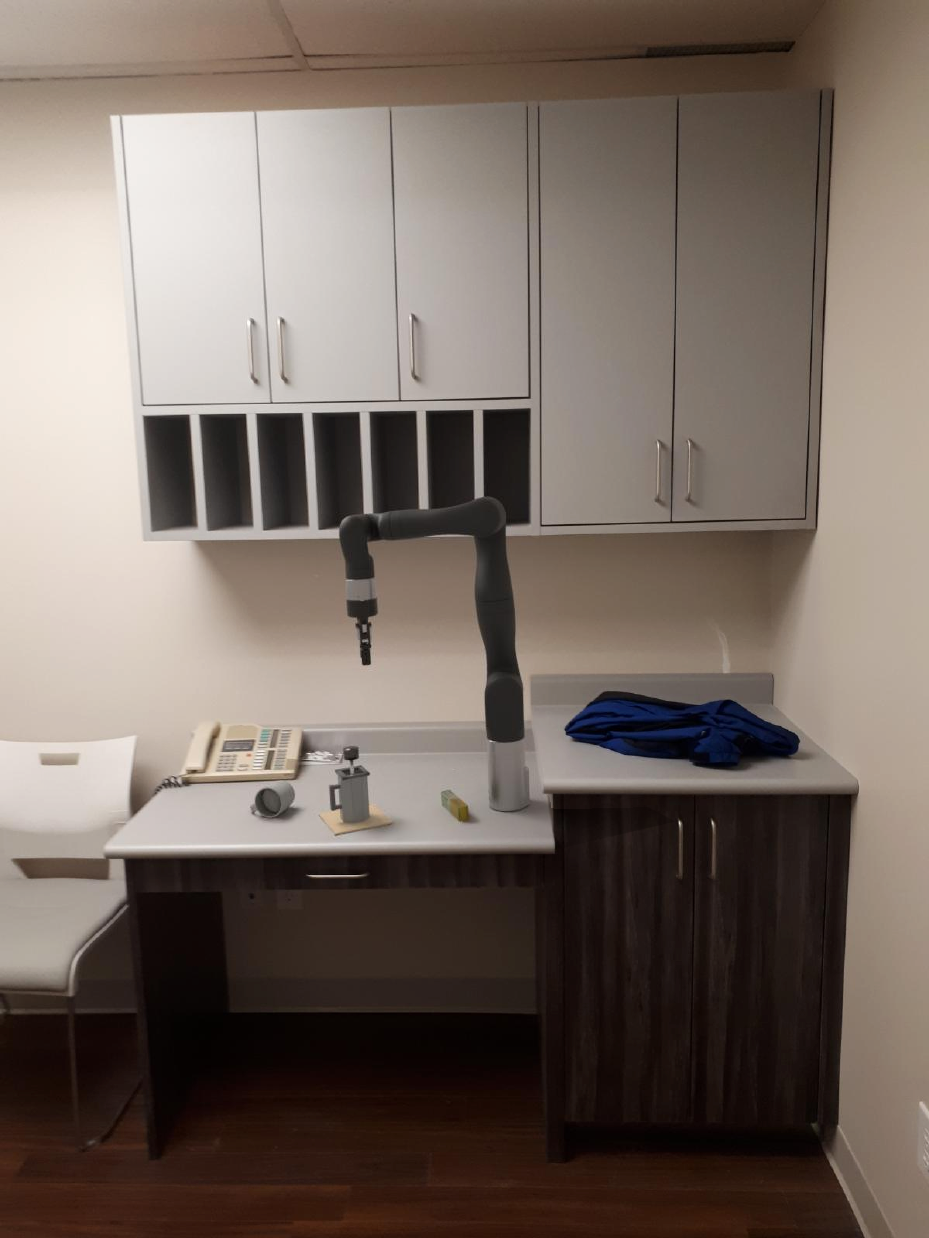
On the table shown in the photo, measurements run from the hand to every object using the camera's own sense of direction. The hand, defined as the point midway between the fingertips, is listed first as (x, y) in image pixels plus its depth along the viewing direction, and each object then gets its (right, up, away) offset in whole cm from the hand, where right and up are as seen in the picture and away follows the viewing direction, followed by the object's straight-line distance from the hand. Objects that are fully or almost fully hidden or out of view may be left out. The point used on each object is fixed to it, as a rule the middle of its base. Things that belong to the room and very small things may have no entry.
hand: (365, 661), depth 223 cm
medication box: (+22, -37, -5) cm, 43 cm away
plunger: (-2, -34, -7) cm, 35 cm away
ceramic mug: (-23, -38, 0) cm, 44 cm away
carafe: (-2, -38, -7) cm, 38 cm away
